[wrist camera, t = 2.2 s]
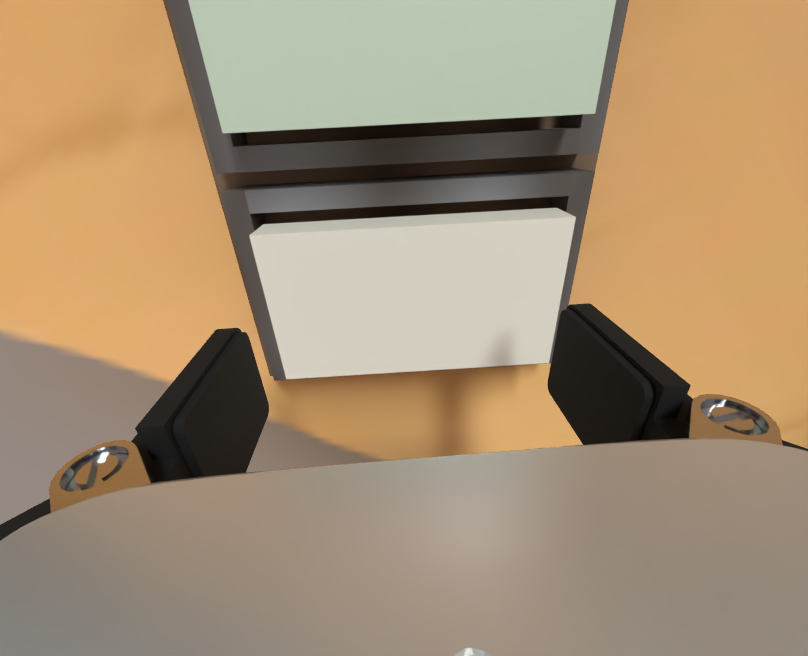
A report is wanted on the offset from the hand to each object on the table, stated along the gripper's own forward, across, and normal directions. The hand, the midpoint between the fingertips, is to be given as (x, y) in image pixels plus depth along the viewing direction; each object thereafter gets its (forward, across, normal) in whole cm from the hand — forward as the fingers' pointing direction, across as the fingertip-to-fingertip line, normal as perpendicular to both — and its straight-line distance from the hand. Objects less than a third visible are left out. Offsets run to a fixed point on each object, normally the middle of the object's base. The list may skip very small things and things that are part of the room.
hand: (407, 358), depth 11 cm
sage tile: (+5, -1, -9) cm, 10 cm away
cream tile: (+5, -1, 0) cm, 5 cm away
